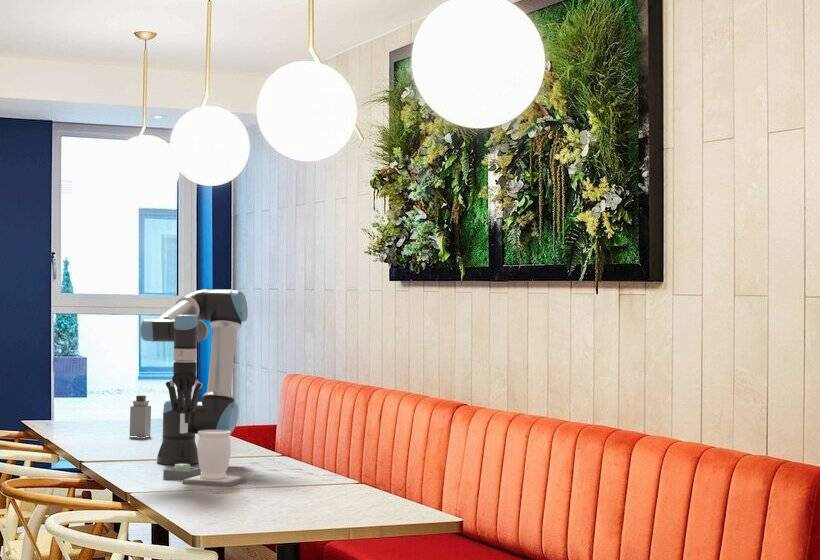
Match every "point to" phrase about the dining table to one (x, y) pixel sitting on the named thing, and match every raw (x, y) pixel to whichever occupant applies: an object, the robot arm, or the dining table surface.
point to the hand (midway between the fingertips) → (183, 432)
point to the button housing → (180, 473)
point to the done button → (182, 467)
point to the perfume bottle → (140, 417)
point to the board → (215, 481)
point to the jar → (214, 453)
